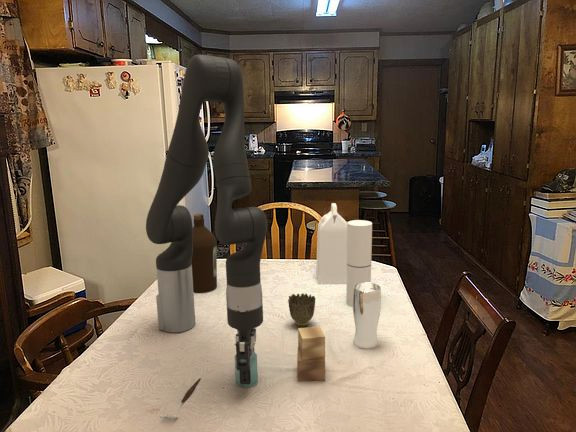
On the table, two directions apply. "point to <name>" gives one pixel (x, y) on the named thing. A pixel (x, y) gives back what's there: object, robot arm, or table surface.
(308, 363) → the base block
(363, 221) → the cylindrical container
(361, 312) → the beer glass
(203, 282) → the olive oil
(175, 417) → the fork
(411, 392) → the table surface
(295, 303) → the cup
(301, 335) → the top block
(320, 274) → the milk
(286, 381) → the table surface
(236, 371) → the cylinder
